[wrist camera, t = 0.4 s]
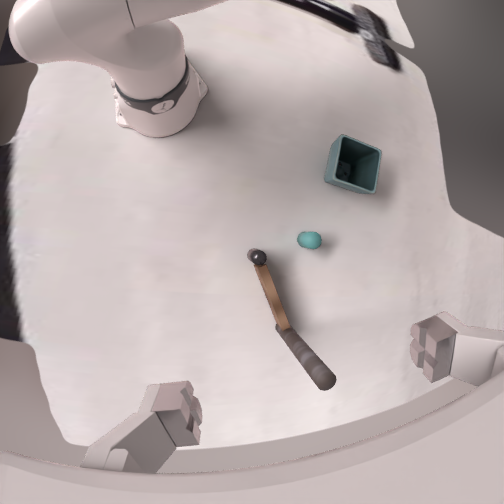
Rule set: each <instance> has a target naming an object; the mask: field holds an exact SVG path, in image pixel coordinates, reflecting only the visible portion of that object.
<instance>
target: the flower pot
mask: <svg viewBox="0 0 504 504" xmlns="http://www.w3.org/2000/svg"><path fill="white" fill-rule="evenodd" d="M381 154H382V152H381V150H380V149H378V148H376V147H373V146H371V145H368V144H366V143H363V142H361V141H359V140H356V139H354V138H351V137H349V136H347V135H344V134H341V135H340V136H339V137H338V138H337V140H336V141H335V142H334V143H333V144H332V146H331V148H330V153H329V158H328V163H327V168H326V173H325V177H324V181H325V182H327V183H330V184H333V185H336V186H339V187H342V188H345V189H348V190H351V191H353V192H356V193H363V194H375V192H376V187H377V180H378V174H379V167H380V161H381ZM339 163H341V165H339ZM345 173H346V175H345ZM337 178H338V179H337Z"/></svg>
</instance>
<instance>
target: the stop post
mask: <svg viewBox="0 0 504 504" xmlns="http://www.w3.org/2000/svg"><path fill="white" fill-rule="evenodd" d="M297 241H298V244H299V245H300V246H301V247H305V248H310V249H316V248H318V247H319V246H320V245H321V241H322V239H321V236H320V235H319V234H318V233H317V232H302V233H300V234H299V235H298V238H297Z"/></svg>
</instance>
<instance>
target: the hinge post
mask: <svg viewBox="0 0 504 504" xmlns="http://www.w3.org/2000/svg"><path fill="white" fill-rule="evenodd" d="M247 256H248V259H249V260H250V261H252V262H253V263H255V264H256V265H262V264H264V263H265V262H266V254H265V253H264V252H263V251H260V250H257V249H251V250H249V252H248V254H247Z"/></svg>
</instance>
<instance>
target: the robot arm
mask: <svg viewBox="0 0 504 504" xmlns="http://www.w3.org/2000/svg"><path fill="white" fill-rule="evenodd" d="M225 1H228V0H17V1H16V3H15V5H14V7H13V10H12V12H11V16H10V21H9V35H10V40H11V42H12V45H13V47H14V48H15V50H16V51H17V52H18V53H19V54H20V55H21V56H22V57H23V58H25V59H26V60H28V61H30V62H33V63H36V64H44V63H49V62H57V61H76V62H83V63H87V64H91V65H95V66H98V67H101V68H103V69H105V70H106V71H107V72H108V73H109V74H110V75H111V77H112V78H111V85H112V87H113V88H115V92H114V94H113V95H114V99H115V107H116V121H117V124H118V125H119V126H122V127H128V128H132V129H134V130H136V131H137V132H139V133H141V134H143V135H145V136H149V137H165V136H169V135H172V134H174V133H177V132H178V131H180V130H182V129H183V128H184V127H186V126H187V125H188V124H189V123H190V121H191V120H192V119H193V117H194V115H195V113H196V111H197V108H198V105H199V102H200V100H201V99H202V98H203V97H204V96H205V95H206V93H207V91H208V88H207V85H206V84H205V83H204V81H203V80H202V78H201V77H200V76H199V74H198V73H197V72H196V70H195V69H194V67H193V66H192V65H191V63H190V62H189V61H188V59H187V57H186V55H185V51H184V40H183V35H182V33H181V31H180V29H179V28H178V27H177V26H176V25H175V24H174V23H173V22H171V21H170V20H168V19H169V18H172V17H176V16H180V15H185V14H189V13H193V12H197V11H200V10H202V9H205V8H208V7H211V6H214V5H217V4H219V3H222V2H225ZM199 84H200V86H199ZM120 115H122V116H120ZM411 336H412V337H413V338H414V339H413V341H412V342H411V344H410V354H411V358H412V360H413V362H414V364H415V365H416V366H417V367H419V368H423V374H424V375H425V376H426V378H427V379H428V380H429V381H430V382H431V383H433V382H435V381H437V380H440V379H442V378H444V377H446V376H448V375H450V376H451V377H454V378H457V379H459V380H462V381H464V382H467V383H470V384H472V385H475V386H478V387H477V388H475V389H474V390H472V391H470V392H469V393H467V394H465V395H463V396H461V397H460V398H458V399H456V400H454V401H452V402H451V403H449V404H447V405H445V406H443V407H441V408H439V409H437V410H435V411H433V412H431V413H429V414H426V415H424V416H422V417H420V418H418V419H415V420H413V421H411V422H409V423H407V424H404V425H402V426H399V427H397V428H394V429H392V430H389V431H387V432H384V433H381V434H379V435H376V436H373V437H370V438H368V439H365V440H362V441H359V442H356V443H353V444H350V445H346V446H343V447H340V448H336V449H333V450H329V451H326V452H322V453H319V454H314V455H311V456H306V457H302V458H298V459H293V460H288V461H283V462H278V463H273V464H268V465H261V466H255V467H248V468H240V469H233V470H223V471H212V472H197V473H164V474H163V473H156V472H157V471H158V470H159V469H160V467H161V466H162V465H163V464H164V462H165V461H166V460H167V459H168V458H169V457H170V455H171V454H172V453H173V452H174V451H175V449H176V447H182V446H193V445H199V442H200V434H201V431H200V429H199V427H198V426H199V425H200V424H201V423H202V409H201V406H200V403H199V400H198V398H196V397H194V396H193V391H194V389H193V387H192V385H191V383H190V382H189V381H181V382H171V383H163V384H152V385H149V386H148V387H147V389H146V392H145V394H144V397H143V400H142V402H141V405H140V407H139V410H138V413H133V414H132V415H131V416H129V417H128V418H127V419H125V420H124V421H123V422H121V423H120V424H119V425H117V426H116V427H115V428H113V429H112V430H111V431H109V432H108V433H107V434H105V435H104V436H103V437H101V438H100V439H99V440H97V441H96V442H94V443H93V444H92V445H90V446H89V449H88V451H87V453H86V455H85V457H84V459H83V462H82V464H81V466H80V467H75V466H69V465H63V464H58V463H53V462H48V461H44V460H40V459H36V458H31V457H28V456H24V455H21V454H17V453H14V452H10V451H1V452H0V504H504V331H502V330H494V329H487V328H480V327H474V326H471V327H468V326H466V325H465V324H463V323H462V322H461V321H459V320H458V319H456V318H455V317H454V316H452V315H451V314H449V313H448V312H445V311H443V312H441V313H439V314H436V315H434V316H433V317H430V318H428V319H425V320H423V321H420V322H418V323H415V324H413V325H412V327H411Z"/></svg>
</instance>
